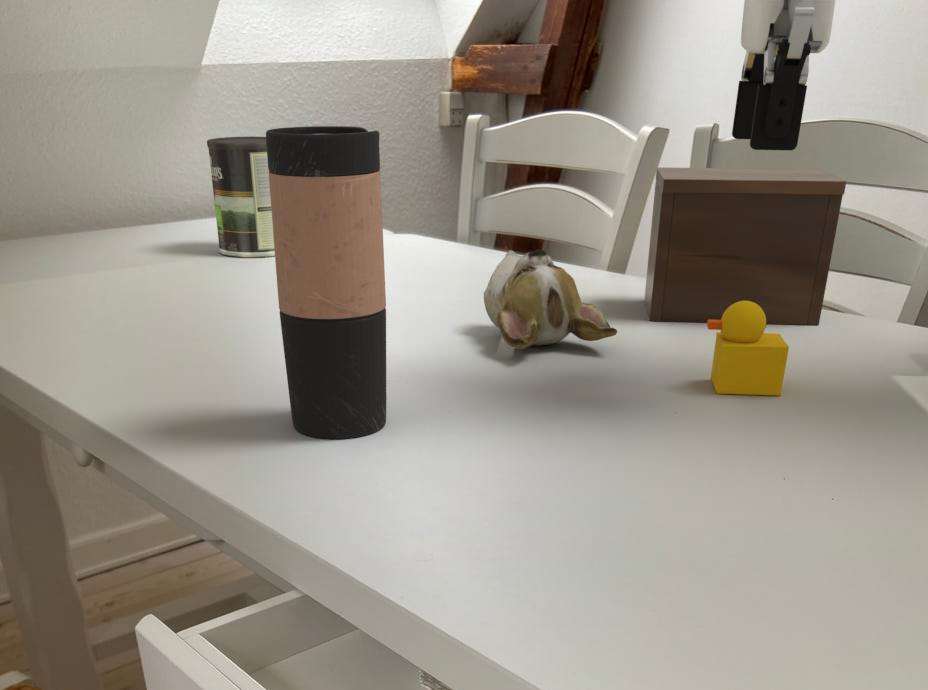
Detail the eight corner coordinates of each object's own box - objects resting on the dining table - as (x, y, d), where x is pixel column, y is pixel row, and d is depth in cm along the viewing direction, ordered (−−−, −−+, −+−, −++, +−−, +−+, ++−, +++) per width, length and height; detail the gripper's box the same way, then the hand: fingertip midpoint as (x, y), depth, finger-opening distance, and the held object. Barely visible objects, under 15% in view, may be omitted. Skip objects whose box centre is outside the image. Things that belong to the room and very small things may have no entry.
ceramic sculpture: (559, 229, 100) (630, 266, 88) (553, 317, 105) (620, 362, 93) (459, 237, 97) (519, 275, 85) (458, 326, 102) (514, 374, 90)
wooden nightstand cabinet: (644, 299, 113) (656, 167, 107) (799, 302, 112) (822, 168, 105) (649, 322, 104) (663, 179, 97) (819, 326, 102) (846, 181, 95)
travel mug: (270, 432, 74) (241, 132, 64) (319, 403, 81) (299, 124, 70) (362, 445, 72) (347, 135, 62) (406, 414, 78) (398, 127, 68)
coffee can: (221, 259, 135) (208, 143, 128) (217, 246, 144) (205, 137, 136) (297, 256, 137) (288, 141, 130) (289, 243, 146) (281, 135, 139)
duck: (772, 380, 86) (786, 296, 82) (780, 396, 82) (795, 308, 79) (697, 378, 86) (708, 294, 83) (702, 393, 83) (714, 306, 79)
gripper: (899, -169, 58) (838, 155, 67) (835, -125, 73) (792, 136, 82) (768, -167, 59) (724, 153, 68) (730, -125, 74) (699, 134, 83)
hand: (761, 143), depth 75 cm, fingers open, 9 cm apart
